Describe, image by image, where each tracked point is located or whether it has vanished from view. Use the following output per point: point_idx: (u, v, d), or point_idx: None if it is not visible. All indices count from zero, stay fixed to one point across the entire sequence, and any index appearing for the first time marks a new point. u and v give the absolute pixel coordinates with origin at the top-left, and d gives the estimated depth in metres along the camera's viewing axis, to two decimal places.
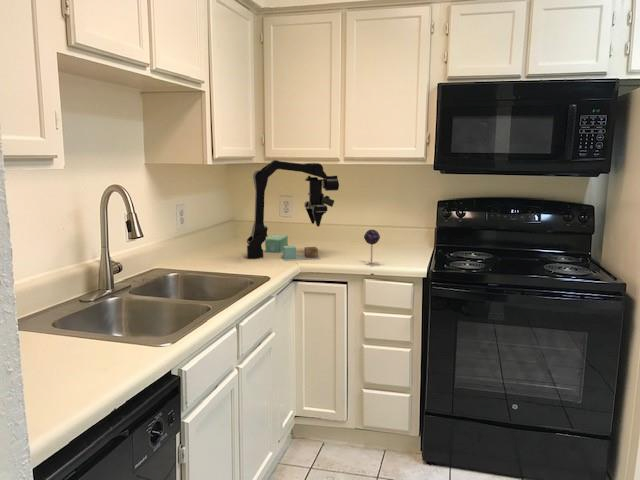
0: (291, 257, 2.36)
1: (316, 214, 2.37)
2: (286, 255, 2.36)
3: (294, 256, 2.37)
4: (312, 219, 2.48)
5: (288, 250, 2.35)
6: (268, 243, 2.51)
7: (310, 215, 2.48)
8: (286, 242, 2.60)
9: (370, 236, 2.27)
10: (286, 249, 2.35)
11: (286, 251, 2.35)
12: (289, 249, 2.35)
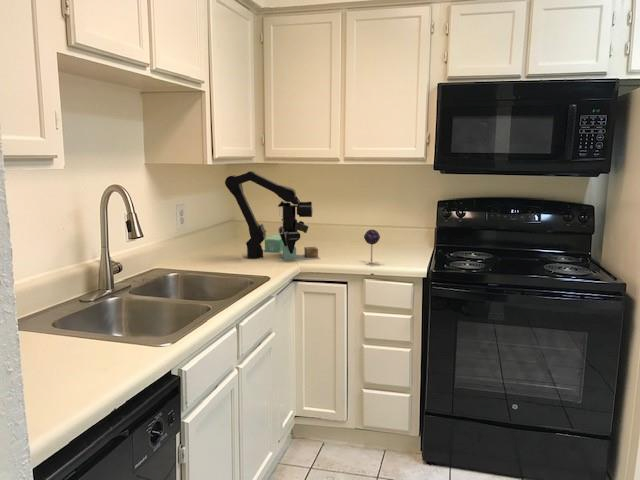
0: (291, 257, 2.36)
1: (289, 241, 2.31)
2: (286, 255, 2.36)
3: (294, 256, 2.37)
4: (286, 245, 2.42)
5: (288, 250, 2.35)
6: (268, 243, 2.51)
7: (284, 241, 2.42)
8: None
9: (370, 236, 2.27)
10: (286, 249, 2.35)
11: (286, 251, 2.35)
12: None
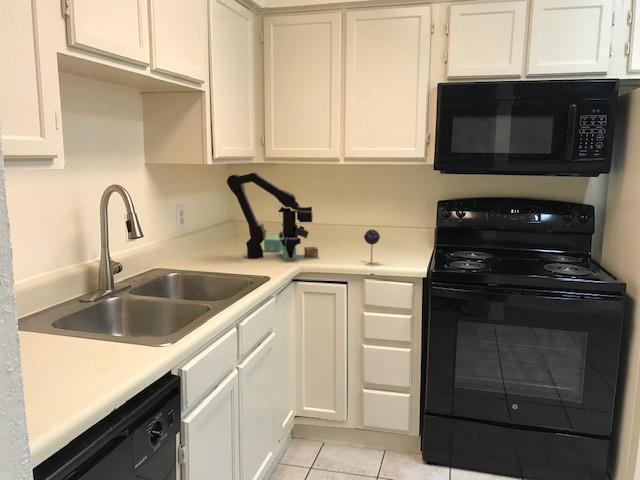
0: None
1: (288, 246, 2.33)
2: (286, 255, 2.36)
3: (294, 256, 2.37)
4: None
5: None
6: (267, 243, 2.51)
7: None
8: None
9: (370, 236, 2.27)
10: None
11: (286, 251, 2.35)
12: None
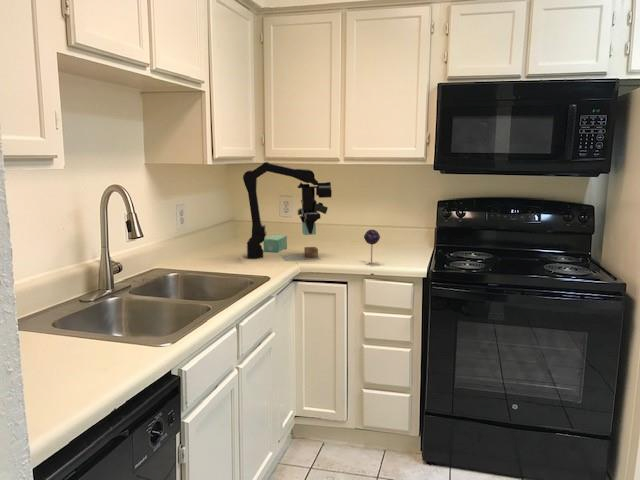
0: None
1: (308, 221, 2.34)
2: (306, 231, 2.36)
3: (314, 232, 2.37)
4: None
5: None
6: (266, 242, 2.51)
7: None
8: (285, 242, 2.60)
9: (370, 236, 2.27)
10: None
11: (306, 227, 2.36)
12: None
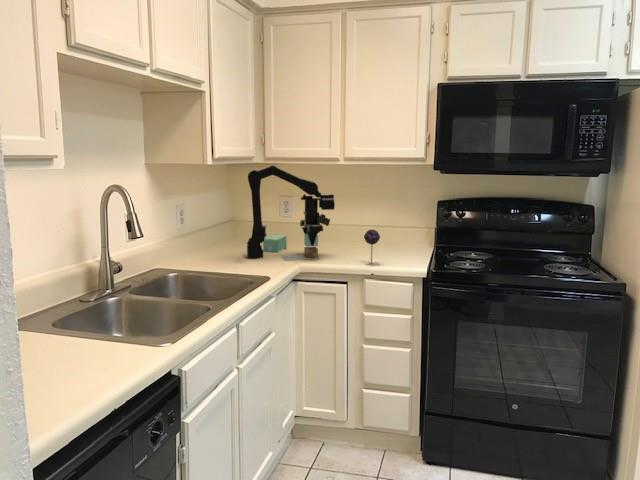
0: None
1: (310, 233, 2.35)
2: (308, 242, 2.37)
3: (316, 243, 2.38)
4: None
5: None
6: (266, 242, 2.51)
7: None
8: (285, 242, 2.60)
9: (370, 236, 2.27)
10: None
11: (308, 238, 2.37)
12: None
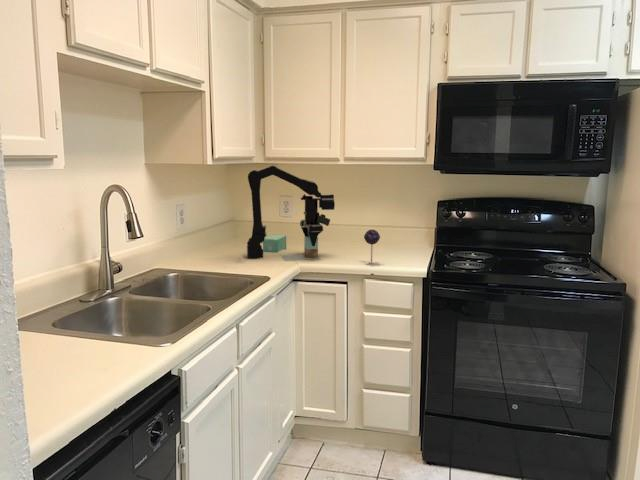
0: (313, 247, 2.38)
1: (311, 234, 2.33)
2: (308, 245, 2.37)
3: (316, 246, 2.38)
4: None
5: None
6: (266, 242, 2.51)
7: (306, 234, 2.44)
8: (284, 242, 2.60)
9: (370, 236, 2.27)
10: (308, 239, 2.37)
11: (308, 241, 2.37)
12: None
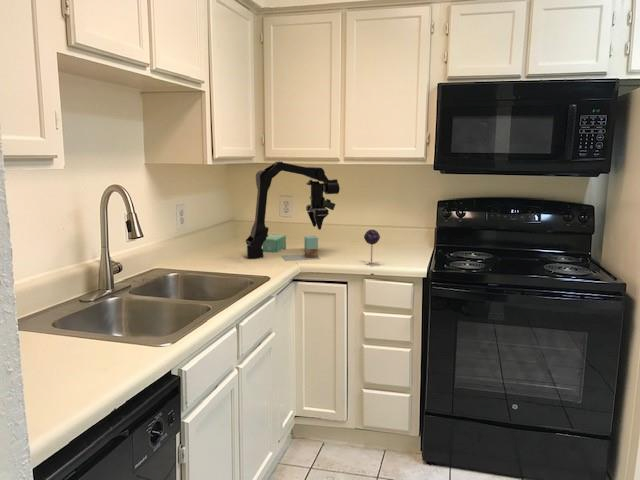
0: (313, 247, 2.38)
1: (317, 217, 2.42)
2: (308, 245, 2.37)
3: (316, 246, 2.38)
4: (313, 222, 2.53)
5: (310, 240, 2.37)
6: (265, 242, 2.51)
7: (312, 218, 2.52)
8: (284, 242, 2.60)
9: (370, 236, 2.27)
10: (308, 239, 2.37)
11: (308, 241, 2.37)
12: (311, 239, 2.37)
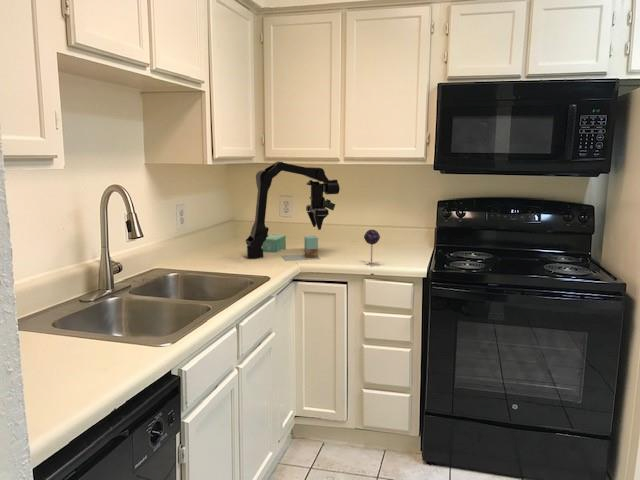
0: (313, 247, 2.38)
1: (317, 218, 2.42)
2: (308, 245, 2.37)
3: (316, 246, 2.38)
4: (313, 222, 2.53)
5: (310, 240, 2.37)
6: (265, 242, 2.52)
7: (311, 218, 2.53)
8: (284, 242, 2.60)
9: (370, 236, 2.27)
10: (308, 239, 2.37)
11: (308, 241, 2.37)
12: (311, 239, 2.37)
